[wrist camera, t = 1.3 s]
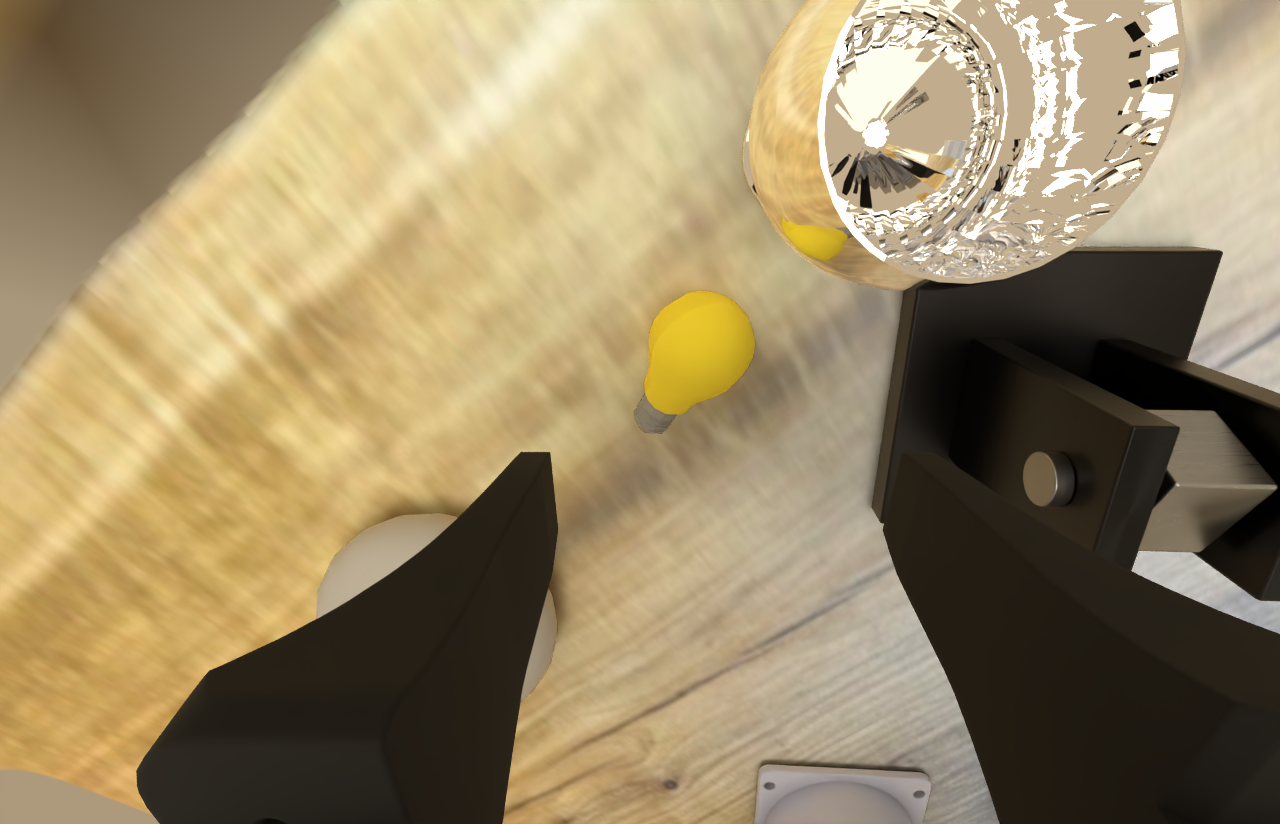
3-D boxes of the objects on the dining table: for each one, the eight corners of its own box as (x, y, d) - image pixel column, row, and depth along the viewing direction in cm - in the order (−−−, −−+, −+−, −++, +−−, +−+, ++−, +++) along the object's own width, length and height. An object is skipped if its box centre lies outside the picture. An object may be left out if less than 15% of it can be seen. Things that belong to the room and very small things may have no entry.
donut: (326, 638, 28) (526, 710, 29) (279, 696, 25) (505, 777, 25) (369, 462, 25) (596, 548, 25) (320, 503, 21) (582, 602, 22)
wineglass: (934, 182, 19) (1281, 187, 8) (772, 275, 21) (877, 387, 9) (859, 4, 18) (1165, -299, 6) (689, 117, 19) (700, 28, 8)
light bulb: (760, 290, 21) (787, 354, 18) (678, 407, 24) (690, 474, 22) (675, 255, 20) (691, 318, 17) (601, 384, 23) (605, 452, 21)
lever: (1072, 562, 21) (1114, 648, 19) (982, 559, 21) (1014, 644, 19) (1225, 400, 15) (1312, 499, 13) (1100, 398, 15) (1165, 495, 13)
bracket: (1109, 514, 23) (1345, 698, 15) (871, 508, 24) (971, 682, 15) (1194, 246, 19) (1567, 295, 11) (910, 247, 20) (1067, 293, 12)
